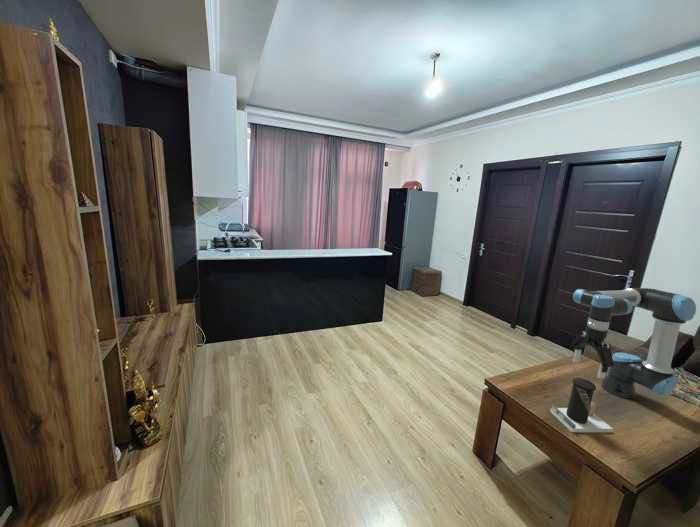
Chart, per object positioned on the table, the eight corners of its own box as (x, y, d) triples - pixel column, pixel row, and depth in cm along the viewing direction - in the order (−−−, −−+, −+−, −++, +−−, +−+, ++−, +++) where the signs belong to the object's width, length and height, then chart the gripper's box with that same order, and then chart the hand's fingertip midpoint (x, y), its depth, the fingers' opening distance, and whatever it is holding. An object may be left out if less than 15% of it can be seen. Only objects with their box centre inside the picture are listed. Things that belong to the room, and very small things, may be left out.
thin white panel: (586, 411, 148) (587, 405, 147) (611, 432, 134) (613, 425, 134) (549, 411, 147) (550, 404, 146) (571, 432, 133) (573, 425, 133)
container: (576, 424, 136) (584, 387, 132) (560, 411, 144) (568, 376, 141) (592, 424, 136) (601, 387, 133) (576, 411, 145) (584, 376, 141)
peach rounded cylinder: (587, 408, 147) (589, 398, 146) (595, 415, 142) (598, 405, 141) (578, 408, 147) (580, 398, 146) (586, 415, 142) (588, 405, 141)
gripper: (567, 317, 143) (560, 355, 147) (615, 339, 119) (604, 385, 123) (581, 317, 144) (573, 355, 148) (632, 340, 119) (620, 385, 123)
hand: (587, 369), depth 135 cm, fingers open, 13 cm apart
